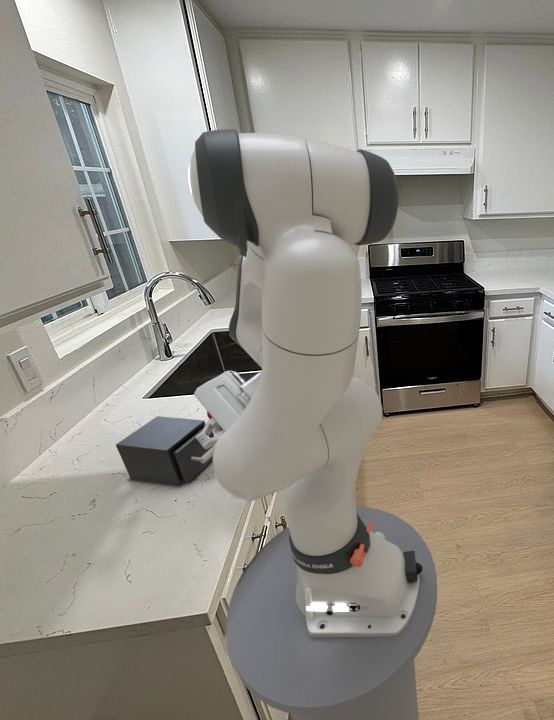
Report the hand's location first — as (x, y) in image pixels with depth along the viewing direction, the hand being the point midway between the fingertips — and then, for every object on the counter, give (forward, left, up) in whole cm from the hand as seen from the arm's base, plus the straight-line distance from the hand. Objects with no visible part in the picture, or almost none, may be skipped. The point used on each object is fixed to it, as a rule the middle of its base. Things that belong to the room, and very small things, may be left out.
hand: (200, 443), depth 75 cm
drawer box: (+25, -14, -20) cm, 35 cm away
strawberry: (+24, -32, -20) cm, 45 cm away
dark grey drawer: (+21, -14, -19) cm, 31 cm away
